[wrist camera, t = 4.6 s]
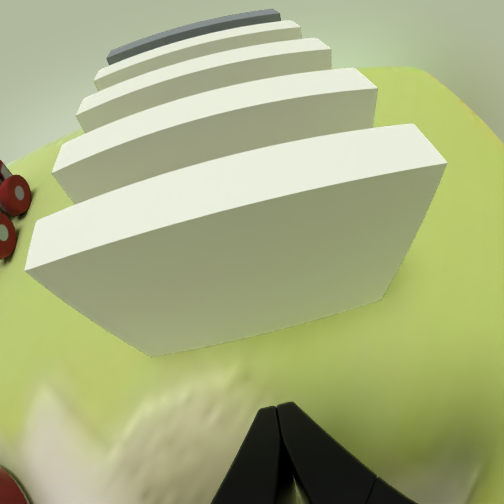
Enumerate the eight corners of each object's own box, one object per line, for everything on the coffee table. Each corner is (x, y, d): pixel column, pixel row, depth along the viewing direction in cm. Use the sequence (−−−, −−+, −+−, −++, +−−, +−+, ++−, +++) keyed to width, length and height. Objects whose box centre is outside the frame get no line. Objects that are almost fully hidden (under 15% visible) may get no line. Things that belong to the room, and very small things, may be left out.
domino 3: (327, 184, 21) (331, 48, 12) (145, 230, 21) (75, 115, 12) (317, 166, 22) (316, 37, 13) (145, 209, 22) (84, 98, 13)
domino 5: (380, 300, 16) (447, 162, 7) (151, 357, 16) (24, 271, 7) (367, 269, 17) (413, 123, 9) (148, 325, 17) (36, 220, 8)
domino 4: (352, 235, 18) (377, 88, 10) (146, 287, 18) (51, 173, 10) (340, 211, 19) (354, 67, 11) (145, 260, 19) (62, 143, 11)
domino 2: (306, 145, 23) (300, 27, 15) (146, 186, 23) (93, 80, 15) (298, 131, 24) (290, 20, 16) (147, 170, 24) (99, 69, 16)
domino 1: (289, 117, 26) (279, 13, 17) (148, 153, 26) (106, 58, 17) (283, 106, 27) (272, 8, 18) (149, 140, 27) (111, 50, 18)
